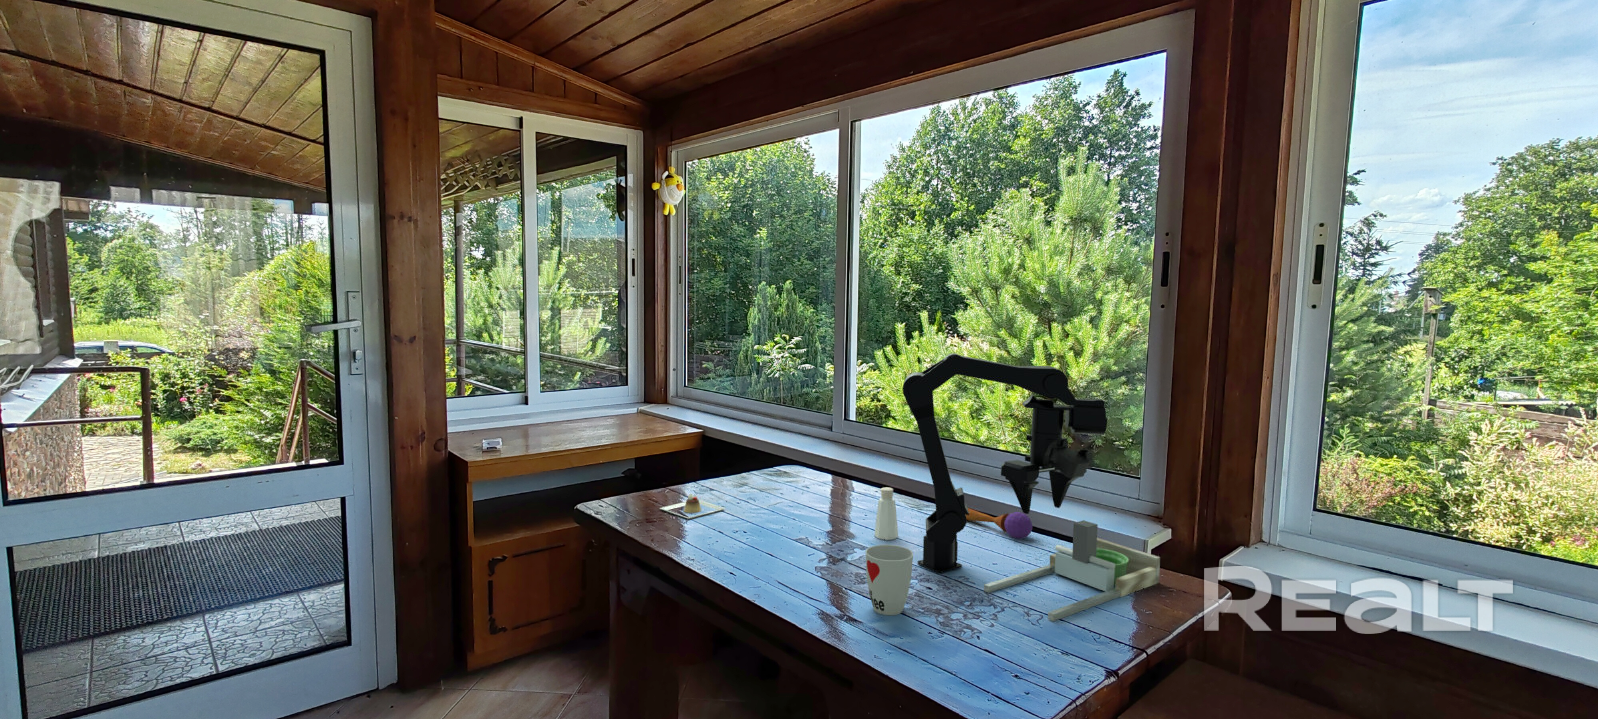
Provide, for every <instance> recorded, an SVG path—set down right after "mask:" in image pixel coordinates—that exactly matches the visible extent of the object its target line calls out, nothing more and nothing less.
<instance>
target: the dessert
mask: <svg viewBox="0 0 1598 719" xmlns="http://www.w3.org/2000/svg"><path fill="white" fill-rule="evenodd" d="M693 494H694V495H693ZM701 506H703V507H707V508H711V509H714V510H713V511H709V512H705V513H701V514H696V513H700V512H701V511H702V508H701ZM681 507H684V508H683V512H685V513H687V514H696V515H693V516H685V515H682V514H679V513H676V512H674V511H671V510H672V509H673V510H674V509H676V508H681ZM659 509H660V510H662V511H664V512H667V513H670V514H673V515H675V516H678V517H681V518H685V519H687V520H691V519H694V518H698V517H702V516H706V515H709V514H713V513H717V512H721V511H724V510H725V509H726V507H723V506H720V505H717V504H713V503H710V502H707V501H704V500H701V499H698V497H697V496H696V494H695V493H690V494H689V495H688V496H687V499H686V500H685V501H684V502H679V503H676V504H670V505H666V506H663V507H659Z"/></svg>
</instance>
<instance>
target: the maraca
mask: <svg viewBox="0 0 1598 719" xmlns="http://www.w3.org/2000/svg"><path fill="white" fill-rule="evenodd" d="M968 511H969V515H966V520H967V521H972V522H973V521H974V522H983V523H984V522H985V523H994V524H995V525H996V526H997V527H998V528H999V529H1001V530H1002V531H1003V532H1004V533H1007V535H1009V536H1010V537H1011V538H1014V539H1018V540H1021V539H1025V538H1027V537H1028V536H1029V535H1030V534H1031V532H1032V530H1033V522H1032V520H1031V518H1030V517H1029V515H1028V514H1025V513H1023V512H1021V511H1020V512H1019V511H1015V512H1012V513H1005V514H1002V515H999V516H997V517H994V516H991V515H988V514H986V513H983V512H981V511H978V510H975V509H972V508H969V507H968Z"/></svg>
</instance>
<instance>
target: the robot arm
mask: <svg viewBox="0 0 1598 719" xmlns="http://www.w3.org/2000/svg"><path fill="white" fill-rule="evenodd" d="M956 375H959V376H964V377H969V378H975V379H980V380H985V381H989V382H995V383H1002V384H1006V385H1012V386H1016V387H1018V388H1021V389H1023V390H1027V391H1029V392H1031V393H1034V394H1036V395H1039V396H1041V397H1044V398H1048V399H1043V398H1042V399H1041V398H1040V399H1039V398H1036V396H1035V395H1034V394H1031V395H1030V396H1029V397H1028V398H1027V399H1025V400H1024V401H1023V402H1021V403H1022V407H1023V408H1025V409H1032V414H1031V415H1032V418H1031V430H1030V434H1026V436H1025V441H1028V442H1030V448H1029V454H1028V455H1025V456H1024V461H1023V460H1019V459H1014V460H1008V461H1006V460H1005V461H1004V462H1003V463H1002V464H1001V465H1000V466H1001V467H1000V476H1001V477H1004V479H1005V480H1006V481H1008V482H1009V484H1010V486H1011V488H1012V490H1013V491H1014V495H1015V496H1016V498H1017V501H1018V504H1019V506H1020V508H1021V511H1022V513H1024V514H1026V515H1029V514H1030V509H1031V504H1032V498H1033V489H1034V488H1035V487H1036V486H1037V485H1038V484H1039V483H1040V482H1039V481H1037V479H1038V477H1039V476H1040V473H1048V474H1049V476H1048V477H1049V482H1050V488H1051V496H1052V502H1053V506H1054V508H1056V509H1060V508H1061V506H1062V504H1063V502H1064V499H1065V497H1066V494H1067V492H1068V490H1069V488H1070V487H1071V484H1072V483H1073V482H1074V481H1075V480H1077V479H1079V478H1082V477H1084V476H1085V473H1087V469H1091V468H1093V464H1092V463H1093V452H1092V451H1091V450H1090V449H1088V448H1081V449H1079V450H1077V449H1071V448H1070V447H1069V441H1068V438H1066V437H1063V433H1064V432H1063V430H1064V428H1063V427H1064V426H1065V428H1066V429H1067V428H1068V429H1069V428H1070V432H1071V433H1072V434H1079V435H1080V434H1082V435H1094V436H1095V435H1097V436H1104V435H1105V433H1106V431H1107V428H1108V418H1107V414H1106V413H1107V412H1106V408H1105V400H1104V399H1101V398H1092V399H1085V398H1083V399H1082V398H1076V395H1074V394H1073V393H1072V391H1071V390H1070V388H1069V380H1068V376H1067V375H1066V374H1065V372H1064V371H1062V370H1061V369H1059V368H1056V367H1054V366H1051V365H1013V364H1007V363H1002V362H999V361H998V362H996V361H991V360H987V359H980V358H976V357H971V356H964V355H961V354H958V353H956V352H955V353H954V352H953V353H951V352H950V353H948V354H947V355H946V356H945V357H944V358H942V359H941V360H939V361H937V362H936V363H935V364H932V365H930V366H929V367H927V368H926V369H924V370H923V371H922V372H920V371H917V372H916V371H915V372H914V371H913V373H910V374H908V375H907V376H906V378H905V379H904V381H903V386H902V394H903V396H904V398H905V401H906V403H907V405H908V408H909V410H910V411H911V413H912V416H913V417H914V419H915V420H916V421H915V422H916V423H917V427H918V432H919V434H920V439H921V444H922V446H923V451H924V454H925V458H926V461H927V466H928V469H929V473H930V477H931V480H932V484H933V489H934V501H935V510H934V511H933V512H932V513H931V514H929V516H927V517H926V518H925V533H926V534H925V535H923V542H922V543H923V544H922V559H920V560H918V561H917V565H920V566H922V567H924V568H926V569H929V570H930V571H933V572H935V573H938V574H942V573H946V572H950V571H954V570H956V569H961V568H963V564H961V563H960V562H958V549H959V548H958V547H959V546H958V544H959V543H958V540H957V539H958V534H959V533H960V532H961V531H962V530H964V528H965V527H966V525H967V521H968V520H966V515H969V511H968V508H969V507H968V504H967V503H966V502H965V495H964V489H963V487H962V486H960V487H959V488H956V487H955V485H954V484H953V481H952V478H951V475H950V472H949V467H948V463H947V460H946V455H945V452H944V448H943V445H942V440H941V436H940V431H939V429H938V425H937V421H936V417H935V406H934V405H935V404H934V392H933V391H935V390H937V389H938V388H939V387H941V386H942V385H944V384H945V383H946V382H948V381H949V380H951V379H952V378H953V377H955V376H956ZM1052 399H1054V400H1055V399H1057V400H1058V401H1060V402H1061V403H1063V404H1064V405H1062V404H1054V401H1053V400H1052ZM1064 424H1065V425H1064Z"/></svg>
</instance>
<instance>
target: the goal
mask: <svg viewBox="0 0 1598 719" xmlns="http://www.w3.org/2000/svg"><path fill="white" fill-rule="evenodd" d="M1097 548H1098V549H1106V550H1111V551H1115V552H1118V553H1121V554H1123V555H1125V556H1126V557H1127V558H1128V559H1129V562H1128V565H1127V570H1126V575H1125V576H1122V577H1119V578H1116V585H1114V589H1112V590H1109V591H1103V592H1100V593H1098V594H1096V595H1093V596H1092V595H1091V596H1090V597H1087V598H1084V599H1081V600H1078V601H1076V602H1073V603H1070V604H1068V605H1065V606H1062V607H1060V608H1057V609H1053V610H1050V611H1048V612H1047V620H1049V621H1051V622H1056V621H1059V620H1060V619H1063V618H1067V617H1069V616H1071V615H1074V614H1077V613H1080V612H1083V611H1084V610H1088V609H1090V608H1093V607H1096V606H1099V605H1101V604H1104V603H1106V602H1109V601H1111V600H1114V599H1117V598H1120V597H1121V598H1122V597H1126V596H1127V595H1130V594H1133V593H1135V591H1136V592H1138V591H1140V590H1144V589H1147V588H1148V587H1152V586H1154V585H1157V584H1159V583H1160V568H1161V567H1160V566H1161V557H1160V556H1157V555H1155V554H1152V553H1147V552H1145V551H1140V550H1138V549H1134V548H1132V547H1129V546H1125V545H1122V544H1119V543H1115V542H1112V541H1109V540H1106V539H1103V538H1099V537H1097ZM1053 573H1055V553H1054V554H1050V555H1049V564H1047V565H1045V566H1041V567H1037V568H1035V569H1031V570H1028V571H1025V572H1021V573H1018V574H1014V575H1011V576H1008V577H1005V578H1001V579H998V580H994V581H991V582H988V583H985V584H983V590H984V592H986V593H988V594H990V593H991V592H995V591H998V590H1002V589H1005V588H1008V587H1011V586H1014V585H1018V584H1020V583H1023V582H1027V581H1030V580H1033V579H1037V578H1039V577H1043V576H1046V575H1049V574H1053ZM1143 588H1144V589H1143Z"/></svg>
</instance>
